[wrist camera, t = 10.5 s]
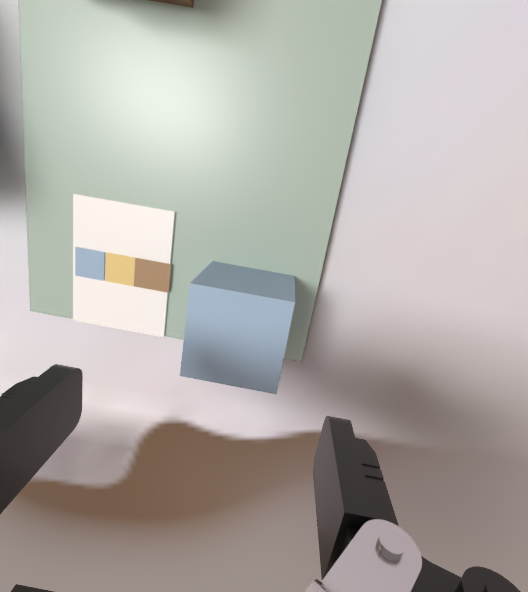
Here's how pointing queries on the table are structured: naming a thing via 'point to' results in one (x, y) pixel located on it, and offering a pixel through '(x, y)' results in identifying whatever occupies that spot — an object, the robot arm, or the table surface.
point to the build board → (183, 148)
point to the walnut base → (178, 2)
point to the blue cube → (238, 326)
